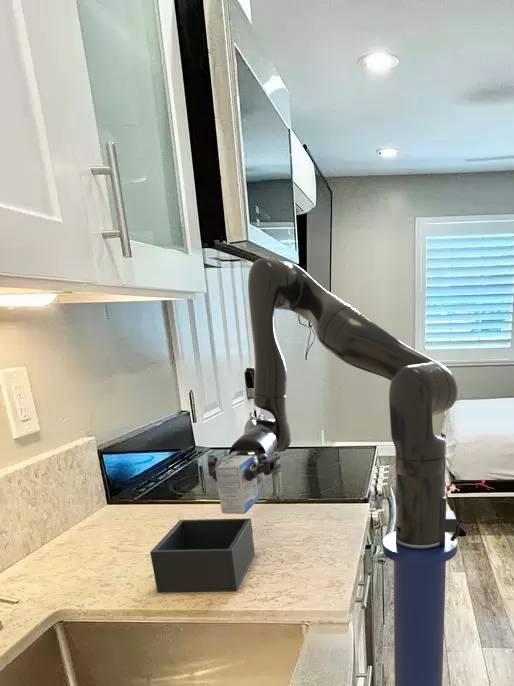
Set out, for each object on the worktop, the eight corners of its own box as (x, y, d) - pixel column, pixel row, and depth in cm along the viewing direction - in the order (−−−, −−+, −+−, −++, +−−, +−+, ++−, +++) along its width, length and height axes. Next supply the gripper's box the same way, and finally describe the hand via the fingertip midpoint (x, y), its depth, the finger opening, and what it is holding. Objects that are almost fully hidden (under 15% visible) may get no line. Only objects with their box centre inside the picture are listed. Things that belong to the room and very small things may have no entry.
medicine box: (245, 514, 100) (239, 466, 97) (220, 514, 100) (214, 466, 97) (259, 500, 107) (254, 455, 104) (236, 499, 108) (231, 455, 104)
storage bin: (254, 554, 111) (250, 518, 108) (236, 591, 97) (231, 550, 94) (185, 556, 111) (180, 519, 109) (157, 593, 97) (149, 552, 94)
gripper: (214, 434, 113) (188, 455, 98) (286, 432, 113) (271, 453, 97) (219, 471, 116) (194, 497, 100) (289, 469, 116) (275, 495, 100)
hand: (232, 475), depth 99 cm, fingers closed on medicine box, 5 cm apart
